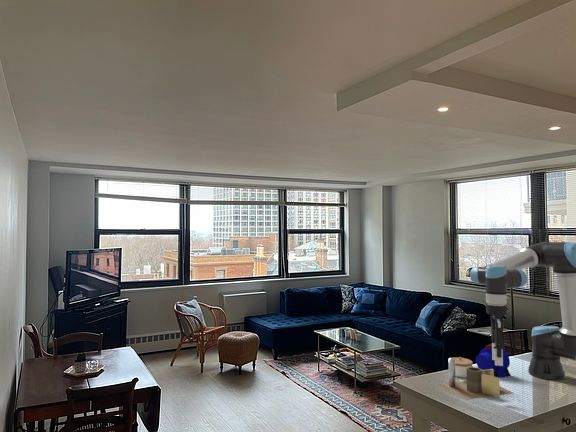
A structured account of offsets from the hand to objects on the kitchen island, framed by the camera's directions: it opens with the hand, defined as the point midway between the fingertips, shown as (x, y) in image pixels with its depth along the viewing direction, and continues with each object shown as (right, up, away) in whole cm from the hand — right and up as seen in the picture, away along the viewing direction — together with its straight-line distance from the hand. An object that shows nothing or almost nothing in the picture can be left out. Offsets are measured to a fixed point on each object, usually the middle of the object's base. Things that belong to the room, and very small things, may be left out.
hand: (497, 362), depth 168 cm
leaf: (0, -16, +7) cm, 17 cm away
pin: (-11, -17, +17) cm, 27 cm away
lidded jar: (-1, -19, +33) cm, 38 cm away
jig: (-2, -18, +15) cm, 23 cm away
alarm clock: (+16, -19, +38) cm, 45 cm away
